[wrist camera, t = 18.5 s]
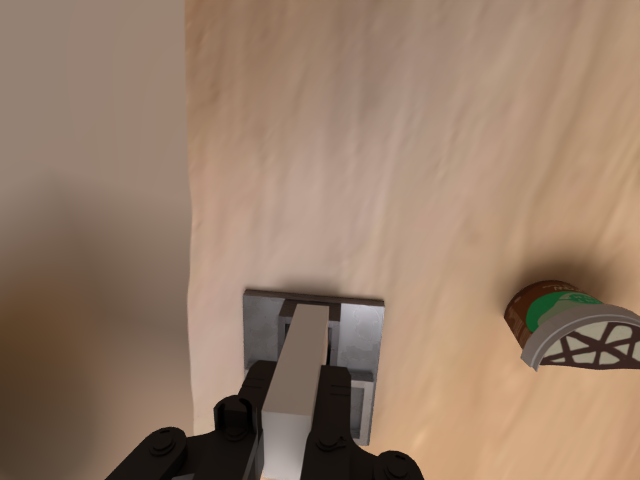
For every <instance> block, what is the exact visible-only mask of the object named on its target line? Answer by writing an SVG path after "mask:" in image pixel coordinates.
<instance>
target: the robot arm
mask: <svg viewBox="0 0 640 480" xmlns="http://www.w3.org/2000/svg"><path fill="white" fill-rule="evenodd" d="M328 317H329V306H319V305H306V304H297V306H296V309H295V312H294V315H293V318H292V321H291V324H290V327H289V330H288V333H287V336H286V339H285V342H284V345H283V348H282V351H281V354H280V357H279V360H278V362H277V361H266V360H258V361H257V362H256V363H254V364H253V365H252V366H251V367H250V368H249V371H248V373H247V375H246V377H245V380H244V382H243V384H242V388H241V389H240V391H239V393H238V395H232V396H229V397H226V398H224V399H222V400H221V401H219V402H218V403H217V404H216V406H215V407H214V408H213V409H214V421H215V430H214V431H212V432H210V433H207V434H203V435H198V436H192V437H186V435H185V433H184V431H182V430H181V429H179V428H176V427H166V428H161V429H159V430H157V431H155V432H152V433H151V434H150V435H149V436H147V437H146V438H145V439H144V440H143V441H142V442H141V443H140V444H139V445H138V446H137V447H136V448H135V449H134V450H133V451H132V452H131V453H130V454H129V455H128V456H127V457H126V458H125V459H124V460H123V461H122V462H121V463H120V465H119V466H118V467H117V468H116V469H115V470H114V471H113V472H112V473H111V474H110V475H109V476H108V477H107V478H106V479H105V480H260V477H261V474H262V470H263V478H269V479H277V480H424V478H423V475H422V473H421V471H420V469H419V467H418V465H417V464H416V462H415V461H414V460H413V459H412V458H410V457H409V456H408V455H407V454H404V453H402V452H399V451H390V450H389V451H386V452H383V453H381V454H380V455H379V456H375V455H373V454H370V453H368V452H366V451H365V450H363V449H361V448H360V447H359V446H358V445H357V444H356V443H355V442H354V440H353V438H352V436H351V432H350V413H351V378H352V377H351V375H350V373H349V371H348V369H347V367H340V366H329V365H326V358H327V340H328Z"/></svg>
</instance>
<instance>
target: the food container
mask: <svg viewBox="0 0 640 480" xmlns="http://www.w3.org/2000/svg"><path fill="white" fill-rule="evenodd" d="M504 319H505V321H506V322H507V324H508V326H509V327H510V329H511V331H512V333H513V334H514V336H515V338H516V339H517V341H518V343H519V345H520V346H521V348H522V350H523V351H522V354H521V359H522V360H523V361H524V362H525V363H526V364H527V365H528V366H529V367H533V368H534V370H535V371H536V372H537V371H538V367H539V365H559V366H571V367H579V368H586V369H595V370H607V369H640V316H638V315H637V314H635V313H634V312H632V311H630V310H627V309H625V308H622V307H618V306H614V305H607V304H604V303H602V302H600V301H598V300H597V299H595V298H593V297H591V296H590V295H588V294H586V293H584V292H583V291H581V290H579V289H577V288H576V287H574V286H572V285H570V284H568V283H565V282H561V281H554V280H549V281H541V282H537V283H534V284H532V285H530V286H527V287H526V288H524V289H523V290H521V291H520V292H519V293H517V294H516V295H515V296H514V297H513V299H512V300H511V301H510V303H509V304H508V306H507V308H506V311H505V314H504Z"/></svg>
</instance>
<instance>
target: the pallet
mask: <svg viewBox="0 0 640 480" xmlns="http://www.w3.org/2000/svg"><path fill="white" fill-rule="evenodd" d="M297 304H306V305H319V306H329V317H328V329H329V338H328V347H327V358H326V365H329V366H340V367H347V369H348V371H349V373H350V375H351V377H352V378H351V413H350V432H351V436H352V438H353V440H354V442H355V443H356V444H357V445H362V446H367V445H369V441H370V433H371V424H372V415H373V406H374V398H375V389H376V380H377V371H378V363H379V354H380V345H381V336H382V328H383V319H384V310H385V305H384V301H377V300H365V299H353V298H341V297H328V296H316V295H304V294H292V293H280V292H268V291H256V290H246V291H245V293H244V294H243V323H244V368H245V377H246V375H247V373H248V371H249V368H250V367H251V366H252V365H253V364H254V363H256V362H257V361H258V360H266V361H277V362H278V360H279V357H280V354H281V351H282V348H283V345H284V342H285V339H286V336H287V333H288V330H289V327H290V324H291V321H292V318H293V315H294V312H295V309H296V306H297Z"/></svg>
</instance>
